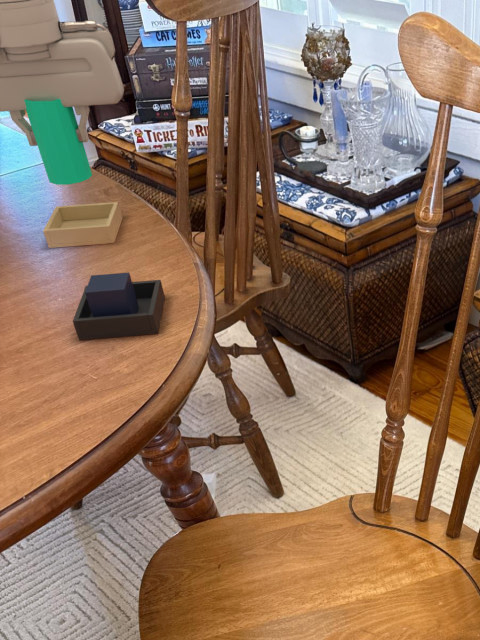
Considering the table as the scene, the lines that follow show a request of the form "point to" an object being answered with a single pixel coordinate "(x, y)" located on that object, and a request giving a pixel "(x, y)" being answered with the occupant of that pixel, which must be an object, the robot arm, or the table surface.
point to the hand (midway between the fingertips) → (59, 143)
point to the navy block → (111, 295)
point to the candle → (58, 141)
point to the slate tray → (123, 325)
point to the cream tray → (83, 225)
